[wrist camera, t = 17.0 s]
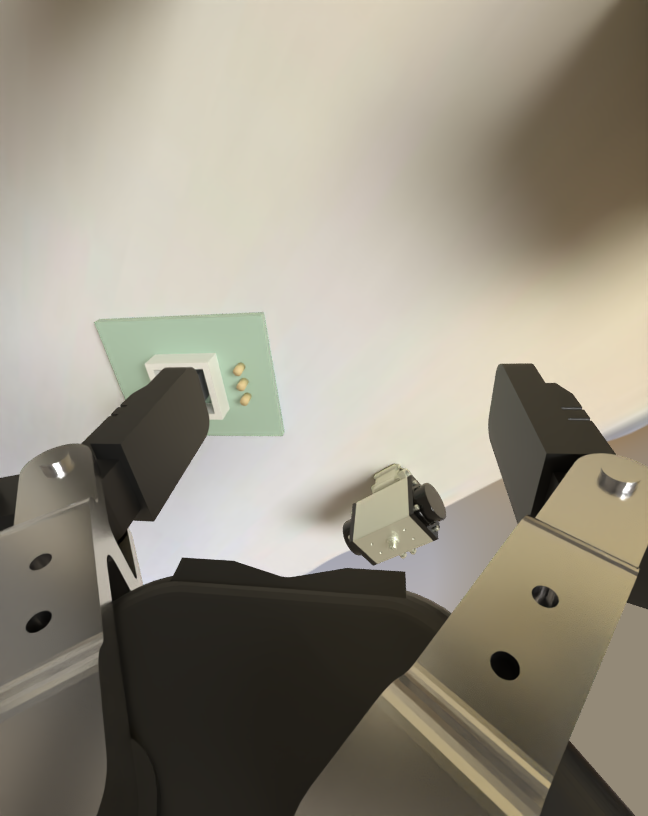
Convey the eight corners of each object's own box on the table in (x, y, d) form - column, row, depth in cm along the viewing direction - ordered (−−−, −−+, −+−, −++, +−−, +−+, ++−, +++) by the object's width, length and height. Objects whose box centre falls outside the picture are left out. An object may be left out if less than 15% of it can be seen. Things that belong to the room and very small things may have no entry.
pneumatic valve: (347, 483, 57) (338, 555, 47) (419, 444, 52) (426, 516, 42) (371, 507, 59) (367, 582, 49) (443, 472, 54) (455, 547, 44)
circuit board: (143, 430, 57) (129, 446, 54) (99, 319, 49) (80, 330, 46) (284, 431, 54) (278, 448, 51) (263, 312, 45) (255, 324, 42)
